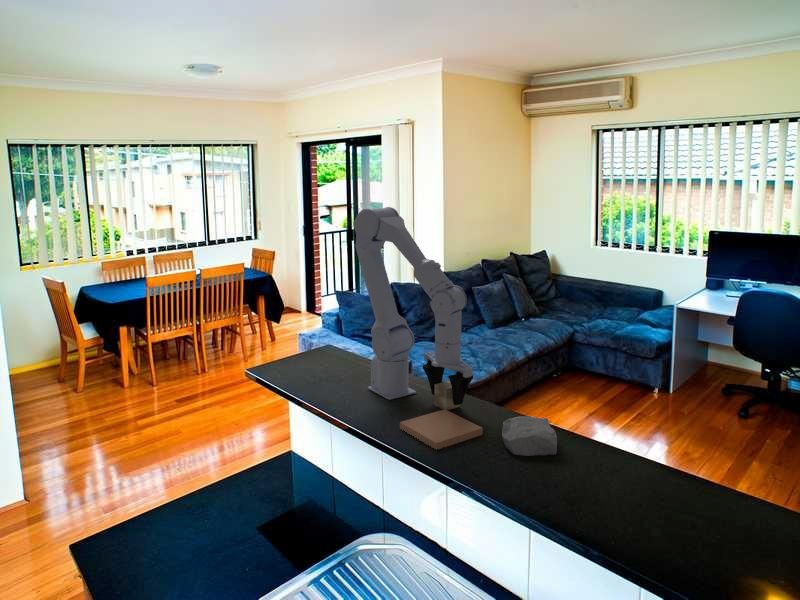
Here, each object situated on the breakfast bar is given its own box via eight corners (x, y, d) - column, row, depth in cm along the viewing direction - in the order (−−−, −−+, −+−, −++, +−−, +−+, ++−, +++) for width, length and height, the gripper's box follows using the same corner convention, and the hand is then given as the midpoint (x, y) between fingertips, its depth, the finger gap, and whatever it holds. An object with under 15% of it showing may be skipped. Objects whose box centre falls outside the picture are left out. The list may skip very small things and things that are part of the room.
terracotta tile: (399, 431, 124) (399, 422, 124) (444, 417, 131) (444, 409, 131) (436, 452, 115) (436, 442, 114) (482, 437, 121) (482, 427, 121)
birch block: (434, 405, 137) (434, 384, 136) (447, 401, 139) (448, 380, 138) (445, 410, 134) (446, 389, 133) (459, 406, 136) (459, 385, 135)
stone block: (509, 465, 113) (562, 455, 112) (505, 441, 112) (558, 432, 111) (500, 440, 124) (548, 431, 124) (496, 418, 124) (544, 409, 123)
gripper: (413, 336, 137) (413, 393, 140) (455, 351, 125) (454, 413, 128) (438, 332, 141) (437, 387, 144) (480, 346, 129) (478, 405, 132)
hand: (446, 399), depth 136 cm, fingers open, 7 cm apart
